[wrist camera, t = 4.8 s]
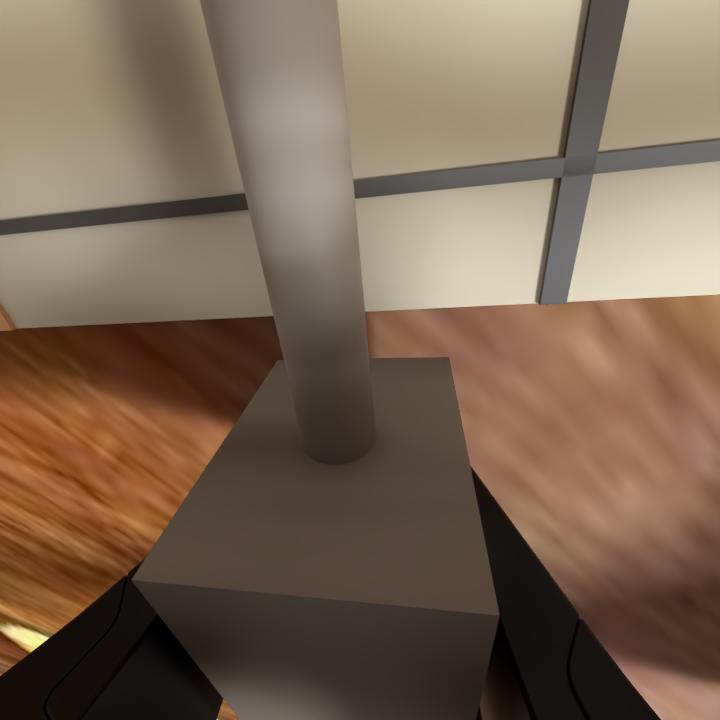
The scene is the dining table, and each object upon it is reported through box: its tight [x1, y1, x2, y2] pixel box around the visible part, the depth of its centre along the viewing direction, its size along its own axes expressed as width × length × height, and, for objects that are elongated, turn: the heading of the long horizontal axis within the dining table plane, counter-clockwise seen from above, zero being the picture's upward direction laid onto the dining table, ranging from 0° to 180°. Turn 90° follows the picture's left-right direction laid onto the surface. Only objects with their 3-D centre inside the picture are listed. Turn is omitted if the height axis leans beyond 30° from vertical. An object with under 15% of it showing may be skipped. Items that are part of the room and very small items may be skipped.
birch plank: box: [0, 0, 720, 331], centre depth 7 cm, size 8×22×2 cm, turn 96°
